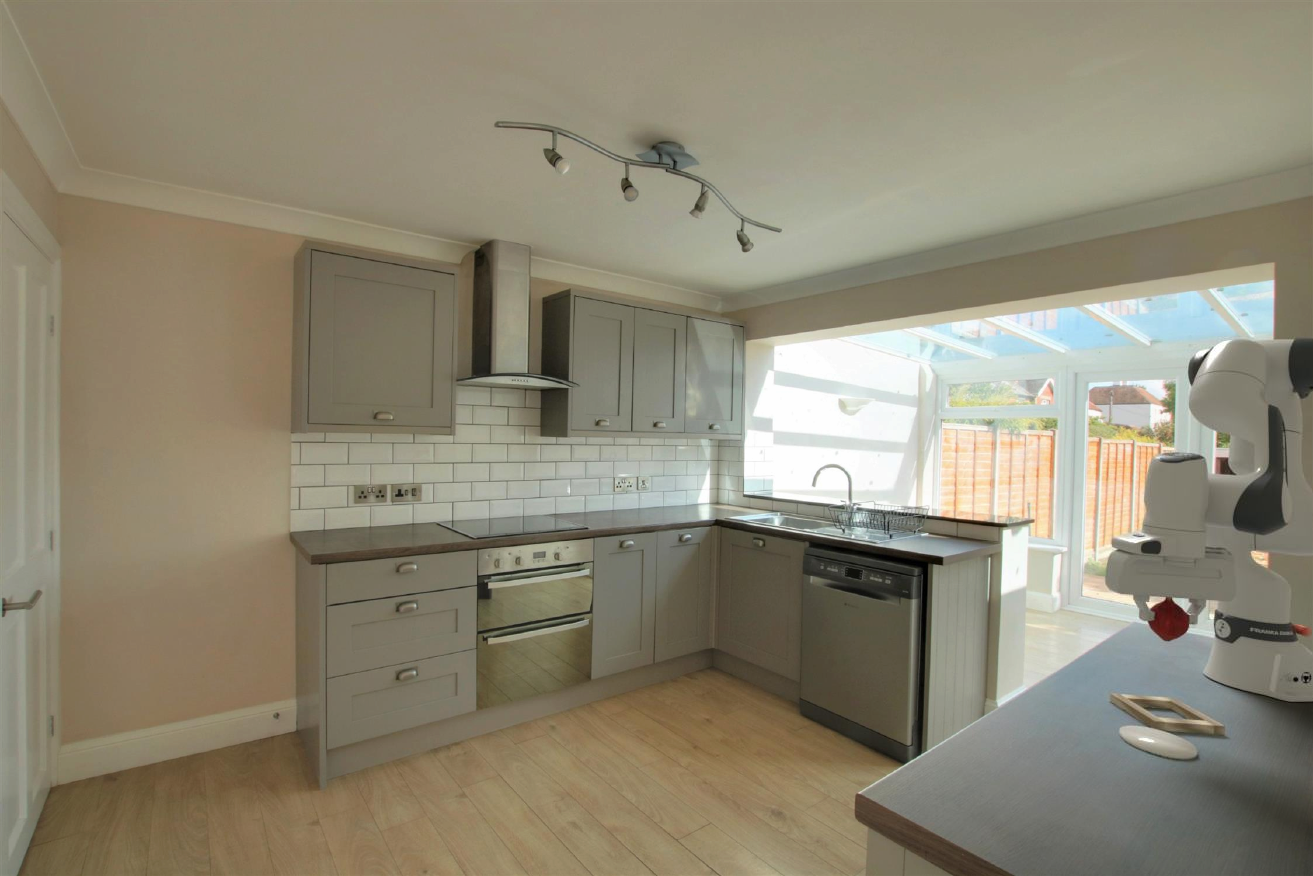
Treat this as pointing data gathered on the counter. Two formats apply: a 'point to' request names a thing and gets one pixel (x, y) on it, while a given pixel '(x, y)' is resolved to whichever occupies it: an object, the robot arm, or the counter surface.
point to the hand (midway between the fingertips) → (1167, 622)
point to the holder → (1192, 724)
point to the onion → (1169, 620)
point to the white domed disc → (1158, 742)
